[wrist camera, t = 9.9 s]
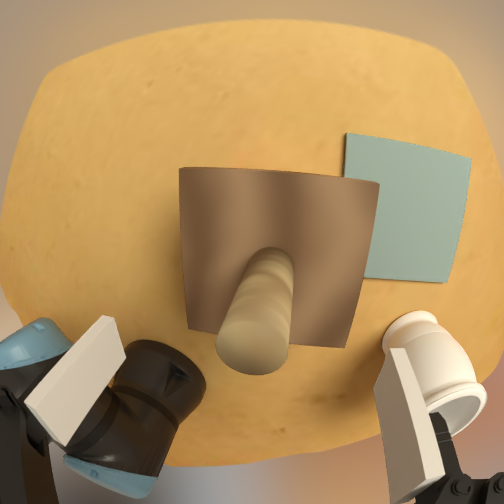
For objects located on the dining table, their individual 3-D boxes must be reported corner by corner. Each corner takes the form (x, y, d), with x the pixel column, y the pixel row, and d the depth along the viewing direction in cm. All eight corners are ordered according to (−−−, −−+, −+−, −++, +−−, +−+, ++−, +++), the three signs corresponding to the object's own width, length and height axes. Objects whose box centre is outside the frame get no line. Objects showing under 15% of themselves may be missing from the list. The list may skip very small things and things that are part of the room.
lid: (192, 321, 25) (146, 403, 16) (185, 167, 20) (98, 192, 11) (343, 339, 23) (354, 434, 14) (375, 181, 18) (439, 220, 9)
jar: (396, 294, 30) (440, 387, 16) (455, 310, 29) (504, 388, 15) (361, 358, 34) (375, 451, 20) (418, 367, 33) (444, 448, 20)
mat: (332, 272, 30) (332, 275, 30) (346, 133, 24) (347, 133, 24) (445, 280, 28) (447, 282, 27) (468, 158, 22) (471, 158, 22)
